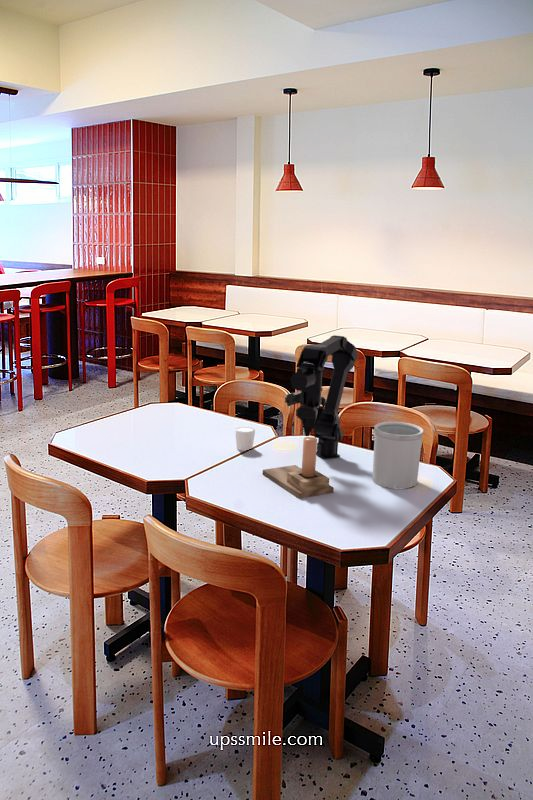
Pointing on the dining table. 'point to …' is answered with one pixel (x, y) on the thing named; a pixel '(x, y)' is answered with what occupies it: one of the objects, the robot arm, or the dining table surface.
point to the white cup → (244, 438)
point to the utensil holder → (396, 454)
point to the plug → (309, 456)
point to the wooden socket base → (299, 481)
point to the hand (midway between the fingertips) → (309, 432)
